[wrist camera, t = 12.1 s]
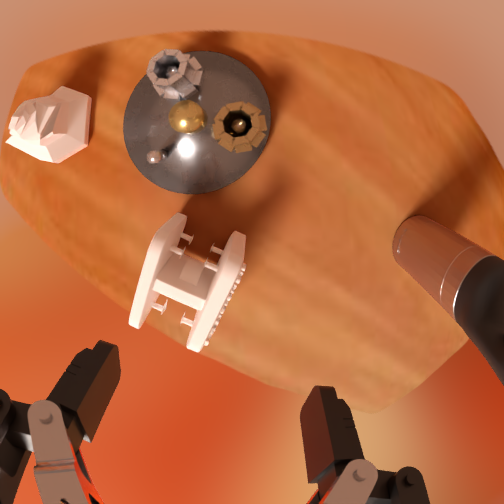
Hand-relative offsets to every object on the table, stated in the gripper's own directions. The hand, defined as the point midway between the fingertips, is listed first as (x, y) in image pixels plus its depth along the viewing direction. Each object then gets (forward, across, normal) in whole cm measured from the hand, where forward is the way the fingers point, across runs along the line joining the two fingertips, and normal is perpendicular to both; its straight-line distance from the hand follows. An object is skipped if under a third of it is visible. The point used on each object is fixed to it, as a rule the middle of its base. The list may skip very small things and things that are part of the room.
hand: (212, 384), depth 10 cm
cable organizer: (+30, +5, +9) cm, 32 cm away
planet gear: (+29, +12, -16) cm, 35 cm away
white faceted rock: (+30, +32, -9) cm, 45 cm away
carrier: (+30, +9, -11) cm, 33 cm away
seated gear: (+29, +3, -11) cm, 31 cm away
